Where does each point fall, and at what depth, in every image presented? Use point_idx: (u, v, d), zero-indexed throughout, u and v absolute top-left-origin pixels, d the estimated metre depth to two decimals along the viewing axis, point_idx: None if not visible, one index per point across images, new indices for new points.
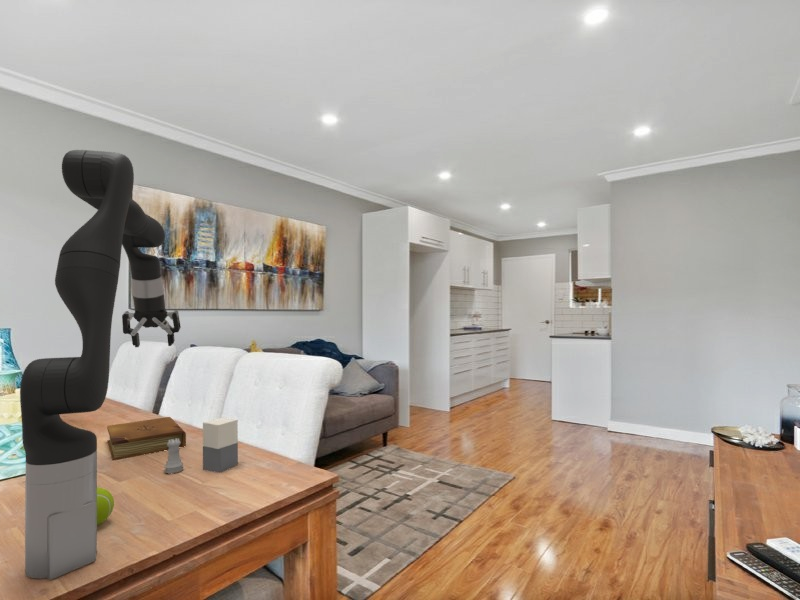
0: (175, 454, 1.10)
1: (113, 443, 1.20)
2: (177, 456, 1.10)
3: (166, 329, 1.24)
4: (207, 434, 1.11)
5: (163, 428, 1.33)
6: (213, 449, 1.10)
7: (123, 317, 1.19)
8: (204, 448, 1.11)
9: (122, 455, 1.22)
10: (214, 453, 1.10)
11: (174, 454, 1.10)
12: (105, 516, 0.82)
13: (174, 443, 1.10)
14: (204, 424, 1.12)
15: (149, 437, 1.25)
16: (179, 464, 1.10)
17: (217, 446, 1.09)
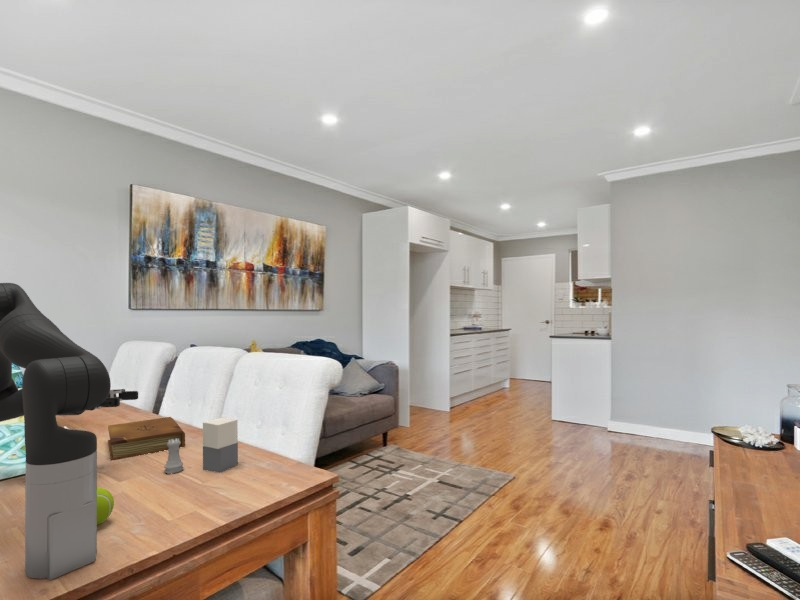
0: (175, 454, 1.10)
1: (112, 443, 1.20)
2: (177, 456, 1.10)
3: (115, 391, 1.14)
4: (207, 434, 1.11)
5: (163, 428, 1.33)
6: (213, 449, 1.10)
7: None
8: (204, 448, 1.11)
9: (121, 455, 1.22)
10: (214, 453, 1.10)
11: (174, 454, 1.10)
12: (105, 516, 0.82)
13: (174, 443, 1.10)
14: (204, 424, 1.12)
15: (148, 437, 1.25)
16: (179, 464, 1.10)
17: (217, 446, 1.09)
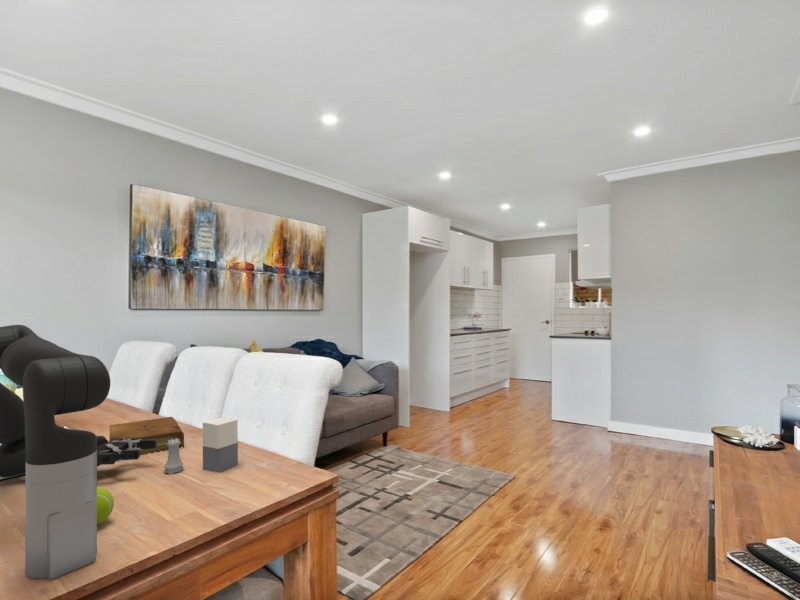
0: (175, 454, 1.10)
1: None
2: (177, 456, 1.10)
3: (133, 440, 1.14)
4: (207, 434, 1.11)
5: (162, 428, 1.33)
6: (213, 449, 1.10)
7: None
8: (204, 448, 1.11)
9: None
10: (214, 453, 1.10)
11: (174, 454, 1.10)
12: (105, 516, 0.82)
13: (174, 443, 1.10)
14: (204, 424, 1.12)
15: (146, 437, 1.25)
16: (179, 464, 1.10)
17: (217, 446, 1.09)
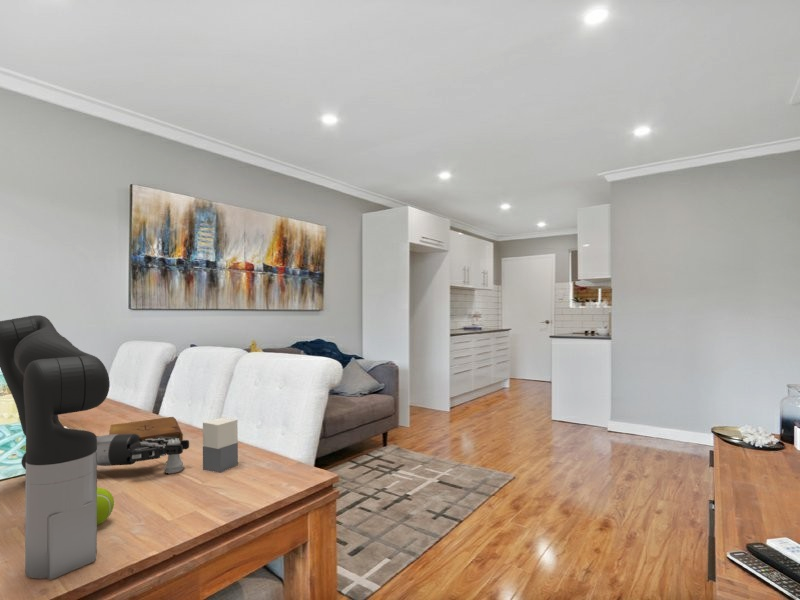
0: (175, 454, 1.10)
1: None
2: (177, 456, 1.10)
3: (166, 440, 1.13)
4: (207, 434, 1.11)
5: (162, 428, 1.33)
6: (213, 449, 1.10)
7: (136, 451, 1.04)
8: (204, 448, 1.11)
9: None
10: (214, 453, 1.10)
11: None
12: (105, 516, 0.82)
13: (174, 443, 1.10)
14: (204, 424, 1.12)
15: (145, 438, 1.25)
16: (179, 464, 1.10)
17: (217, 446, 1.09)
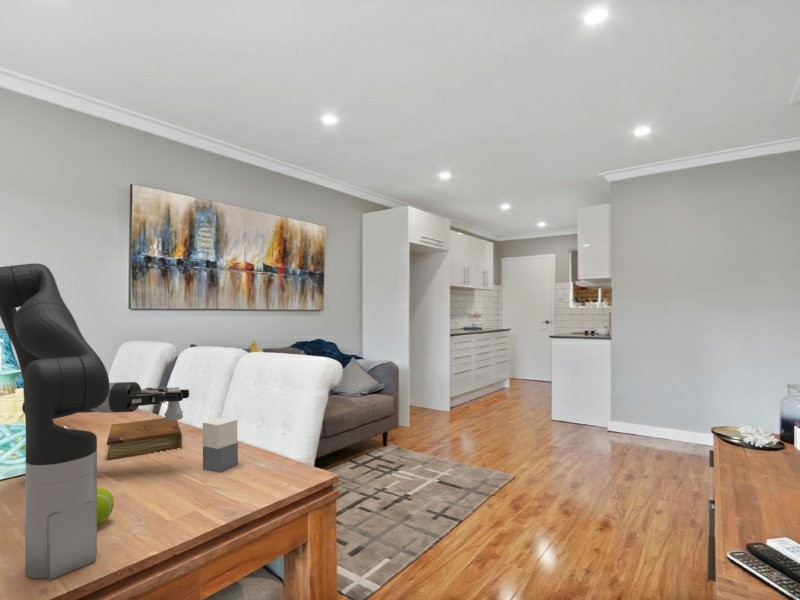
0: (175, 402, 1.10)
1: (108, 443, 1.20)
2: (177, 404, 1.11)
3: (166, 389, 1.13)
4: (207, 434, 1.11)
5: (161, 429, 1.33)
6: (213, 449, 1.10)
7: (136, 395, 1.05)
8: (204, 448, 1.11)
9: (117, 455, 1.22)
10: (214, 453, 1.10)
11: (174, 401, 1.10)
12: (105, 516, 0.82)
13: (174, 391, 1.10)
14: (204, 424, 1.12)
15: (144, 438, 1.25)
16: (179, 412, 1.10)
17: (217, 446, 1.09)
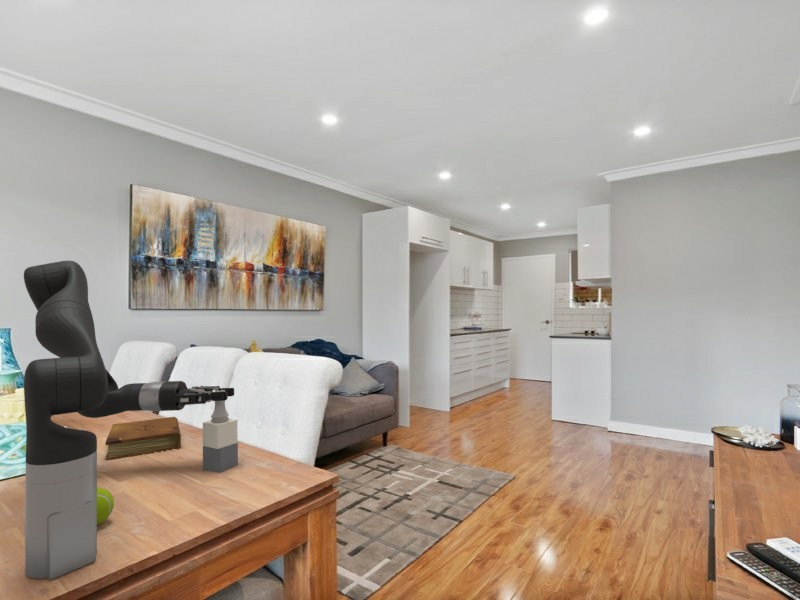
0: (221, 404, 1.13)
1: (106, 443, 1.20)
2: (223, 406, 1.13)
3: (212, 388, 1.16)
4: (207, 434, 1.11)
5: (161, 429, 1.33)
6: (213, 449, 1.10)
7: (184, 394, 1.07)
8: (204, 448, 1.11)
9: (116, 455, 1.22)
10: (214, 453, 1.10)
11: (221, 404, 1.12)
12: (105, 516, 0.82)
13: None
14: (204, 424, 1.12)
15: (143, 438, 1.24)
16: (226, 414, 1.13)
17: (217, 446, 1.09)
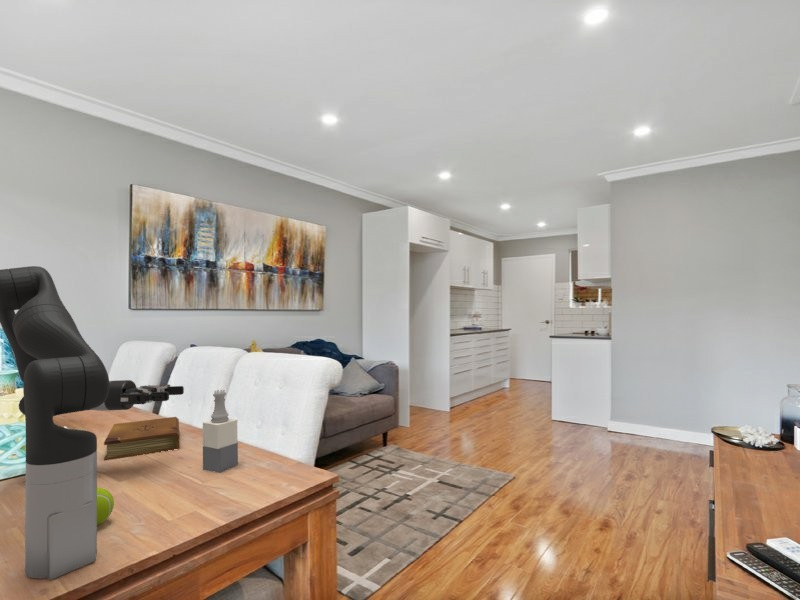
0: (221, 404, 1.13)
1: (105, 443, 1.20)
2: (223, 406, 1.13)
3: (161, 386, 1.16)
4: (207, 434, 1.11)
5: (160, 429, 1.32)
6: (213, 449, 1.10)
7: (124, 394, 1.05)
8: (204, 448, 1.11)
9: (114, 455, 1.22)
10: (214, 453, 1.10)
11: (220, 404, 1.12)
12: (105, 516, 0.82)
13: (220, 393, 1.12)
14: (204, 424, 1.12)
15: (141, 438, 1.24)
16: (226, 414, 1.13)
17: (217, 446, 1.09)
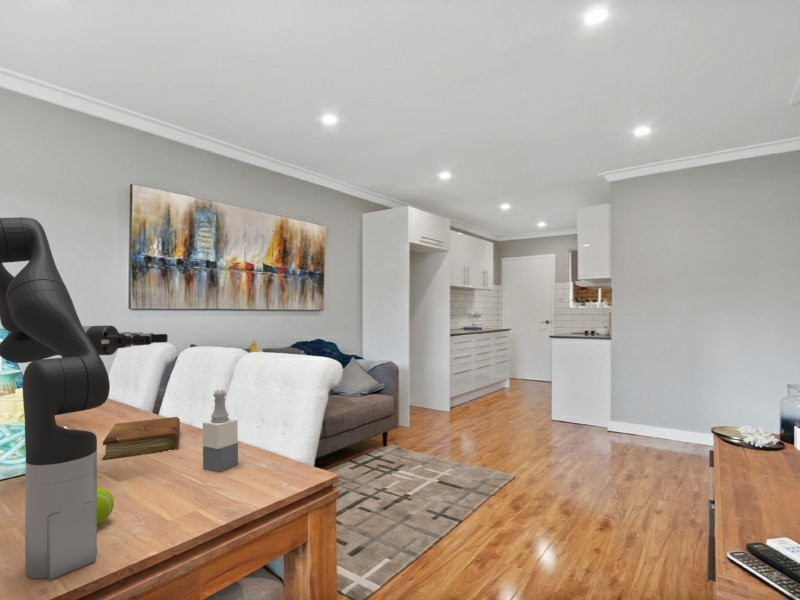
0: (221, 404, 1.12)
1: (104, 443, 1.20)
2: (223, 406, 1.13)
3: (144, 334, 1.14)
4: (207, 434, 1.11)
5: (159, 429, 1.32)
6: (213, 449, 1.10)
7: (104, 336, 1.03)
8: (204, 448, 1.11)
9: (113, 455, 1.22)
10: (214, 453, 1.10)
11: (221, 404, 1.12)
12: (105, 516, 0.82)
13: (220, 393, 1.12)
14: (204, 424, 1.12)
15: (140, 438, 1.24)
16: (226, 414, 1.13)
17: (217, 446, 1.09)
